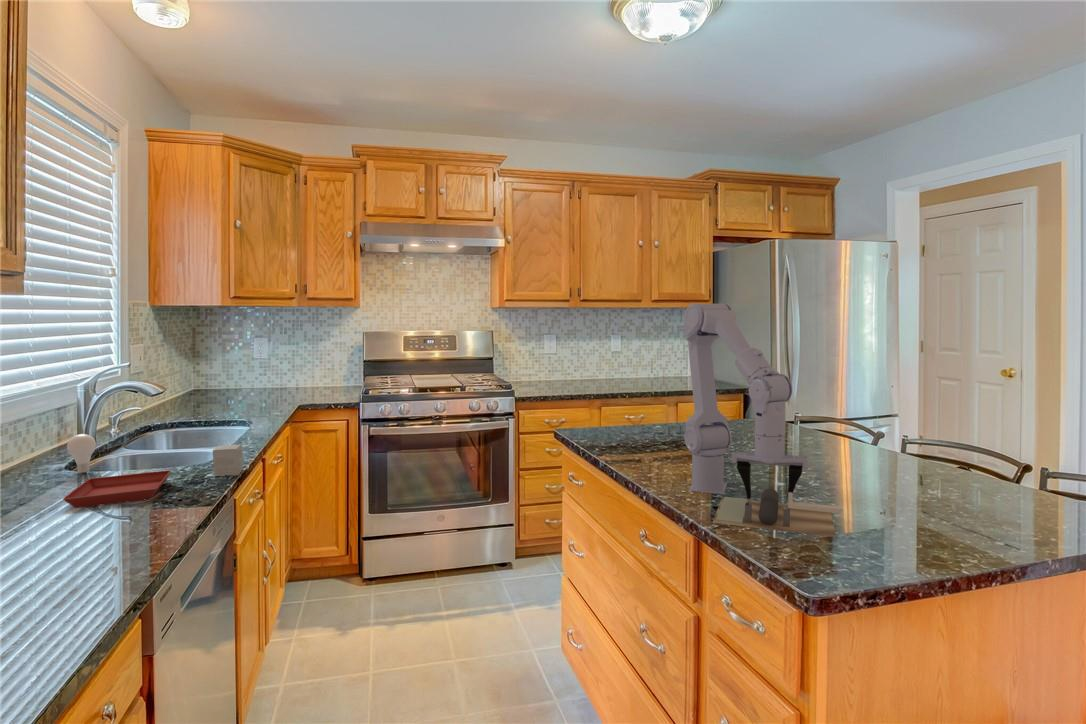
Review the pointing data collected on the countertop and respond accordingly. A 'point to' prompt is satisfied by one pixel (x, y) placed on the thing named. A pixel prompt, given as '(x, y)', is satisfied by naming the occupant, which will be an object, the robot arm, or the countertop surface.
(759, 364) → the robot arm
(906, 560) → the countertop surface
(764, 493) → the dark grey rod
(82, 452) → the lightbulb
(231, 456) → the product box
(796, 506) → the beige l-shaped block
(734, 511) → the board
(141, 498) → the plant saucer
